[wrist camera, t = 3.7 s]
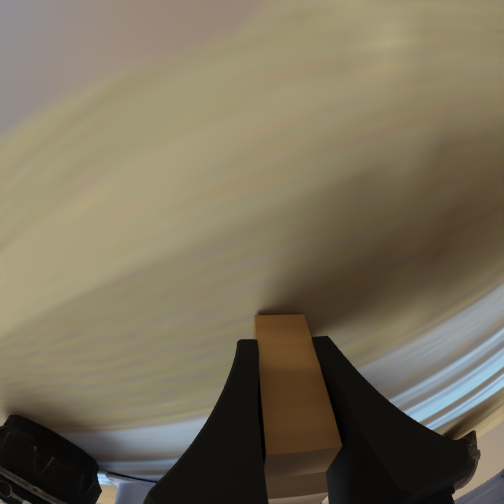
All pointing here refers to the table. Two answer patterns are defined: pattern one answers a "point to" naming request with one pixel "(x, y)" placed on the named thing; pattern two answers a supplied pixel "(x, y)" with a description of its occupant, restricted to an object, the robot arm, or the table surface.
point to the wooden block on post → (293, 412)
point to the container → (43, 467)
